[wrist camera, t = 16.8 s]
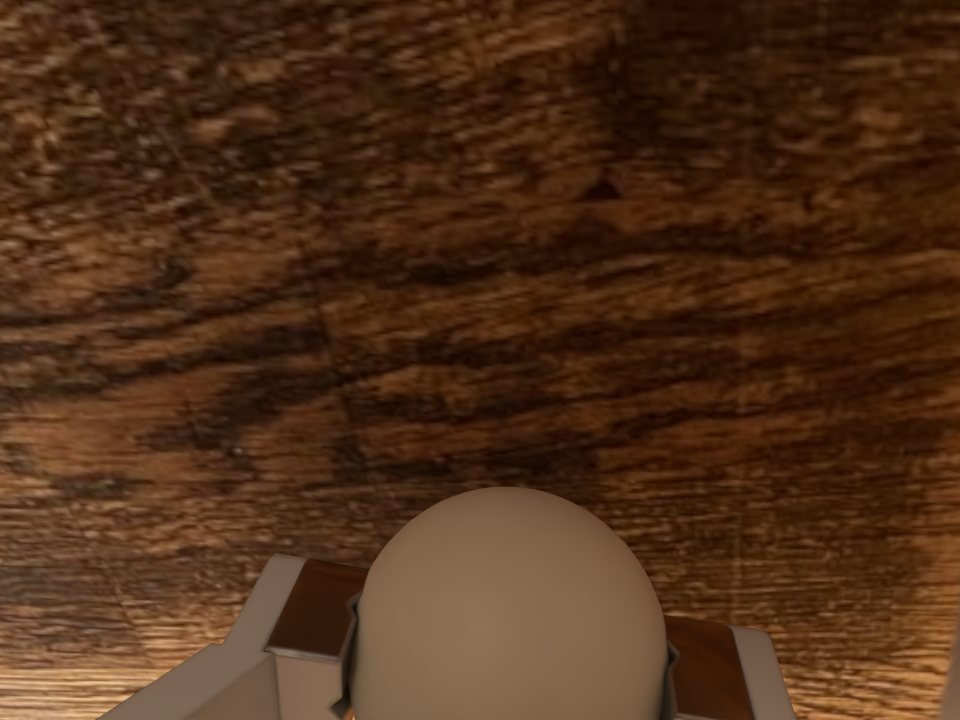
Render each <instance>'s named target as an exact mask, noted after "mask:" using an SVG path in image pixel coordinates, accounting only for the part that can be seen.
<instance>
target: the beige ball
mask: <svg viewBox="0 0 960 720" xmlns="http://www.w3.org/2000/svg"><path fill="white" fill-rule="evenodd" d="M355 616H356V618H357V628H356V634H355V639H354V645H353V651H352V660H351V669H350V675H349V678H348V687H349V693H350V700H351V705H352V709H353V712H354V716H355V719H356V720H660V714H661V709H662V703H663V692H664V678H665V675H666V672H667V669H668V668H669V661H668V649H667V644H666V631H665V622H664V617H663V612H662V609H661V607H660V604H659V601H658V598H657V596H656V593H655V591H654V588H653V586H652V584H651V581H650V580H649V578H648V576H647V574H646V573H645V571H644V569H643V567H642V566H641V564H640V563H639V561H638V560H637V558H636V556H635V555H634V554H633V552H632V551H631V550H630V549H629V547H628V546H627V545H626V544H625V542H624V541H623V540H622V539H621V538H620V537H619V536H618V535H617V534H616V533H615V532H614V531H613V530H612V529H610V528H609V527H608V526H607V525H606V524H605V523H604V522H603V521H601V520H600V519H599V518H597V517H596V516H595V515H593V514H592V513H590V512H588V511H587V510H585V509H583V508H581V507H580V506H578V505H576V504H574V503H573V502H571V501H568V500H566V499H564V498H561V497H559V496H557V495H553V494H550V493H547V492H544V491H539V490H534V489H529V488H521V487H490V488H482V489H477V490H473V491H468V492H465V493H462V494H459V495H456V496H453V497H450V498H448V499H445V500H443V501H441V502H439V503H437V504H435V505H433V506H431V507H430V508H428V509H427V510H425V511H424V512H422V513H421V514H419V515H418V516H416V517H415V518H413V519H412V520H411V521H409V522H408V523H407V524H406V525H405V526H404V527H403V528H402V529H401V530H400V531H399V532H398V533H397V534H396V535H395V536H394V537H393V538H392V539H391V540H390V541H389V542H388V543H387V545H386V546H385V547H384V549H383V550H382V551H381V553H380V554H379V555H378V557H377V558H376V560H375V561H374V563H373V564H372V566H371V568H370V570H369V573H368V576H367V579H366V583H365V587H364V591H363V594H362V596H361V598H360V600H359V603H358V606H357V608H356V611H355Z"/></svg>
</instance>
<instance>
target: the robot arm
mask: <svg viewBox="0 0 960 720" xmlns="http://www.w3.org/2000/svg"><path fill="white" fill-rule="evenodd" d="M369 570H370V569H364V568H359V567H354V566H348V565H343V564H337V563H332V562H326V561H321V560H316V559H307V558H302V557H296V556H290V555H285V554H279V553H276V554H275V555H274V556H273V557H272V558H271V559H270V560H269V561H268V562H267V564H266V566H265V567H264V569H263V571H262V573H261V575H260V577H259V578H258V580H257V582H256V584H255V586H254V588H253V589H252V591H251V593H250V595H249V597H248V599H247V600H246V602H245V604H244V606H243V608H242V609H241V611H240V613H239V615H238V617H237V619H236V620H235V622H234V624H233V626H232V628H231V630H230V631H229V633H228V635H227V637H226V639H225V641H224V642H223V644H222V645H221V644H214V643H211V644H210V645H208V646H207V647H205V648H204V649H202V650H201V651H199V652H198V653H196V654H195V655H193V656H192V657H190V658H189V659H187V660H186V661H184V662H183V663H181V664H180V665H178V666H177V667H175V668H173V669H172V670H170V671H169V672H167V673H166V674H164V675H163V676H161V677H160V678H158V679H157V680H155V681H154V682H152V683H151V684H149V685H148V686H146V687H145V688H143V689H142V690H140V691H139V692H137V693H135V694H134V695H132V696H131V697H129V698H128V699H126V700H125V701H123V702H122V703H120V704H119V705H117V706H116V707H114V708H113V709H111V710H110V711H108V712H107V713H105V714H104V715H102V716H101V717H99V718H97V719H96V720H352V718H353V715H354V712H353V709H352V705H351V700H350V693H349V687H348V678H349V675H350V669H351V660H352V651H353V645H354V639H355V634H356V628H357V618H356V616H355V611H356V608H357V606H358V603H359V600H360V598H361V596H362V594H363V591H364V587H365V583H366V579H367V576H368V573H369ZM663 617H664V622H665V631H666V644H667V649H668V661H669V668H668V669H667V672H666V675H665V678H664V692H663V703H662V709H661V714H660V720H797V719H796V716H795V713H794V710H793V707H792V704H791V701H790V697H789V694H788V691H787V688H786V685H785V682H784V679H783V676H782V673H781V669H780V666H779V663H778V660H777V657H776V654H775V651H774V648H773V645H772V641H771V638H770V636H769V635H768V634H767V633H766V631H765V630H761V629H754V628H748V627H741V626H734V625H725V624H723V623H716V622H709V621H702V620H695V619H688V618H681V617H675V616H668V615H663Z"/></svg>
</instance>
